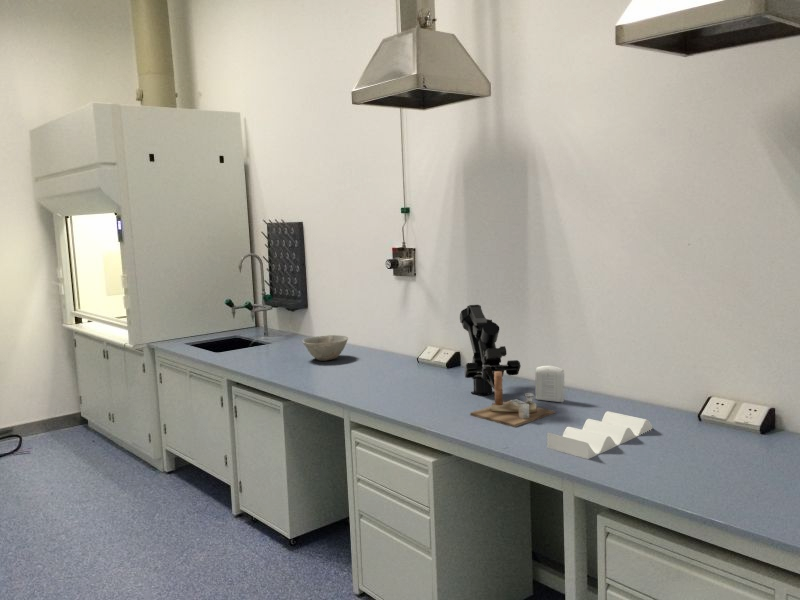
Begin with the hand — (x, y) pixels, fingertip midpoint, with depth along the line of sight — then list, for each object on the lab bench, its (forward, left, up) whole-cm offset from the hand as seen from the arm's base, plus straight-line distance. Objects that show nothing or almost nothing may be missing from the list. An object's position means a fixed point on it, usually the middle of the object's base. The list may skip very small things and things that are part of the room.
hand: (496, 390), depth 225 cm
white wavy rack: (+41, 0, -8) cm, 42 cm away
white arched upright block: (+5, +23, -7) cm, 24 cm away
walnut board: (+6, +1, -7) cm, 10 cm away
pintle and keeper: (+12, +1, -6) cm, 13 cm away
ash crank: (+6, +1, -6) cm, 9 cm away
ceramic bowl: (-120, +11, -7) cm, 121 cm away
